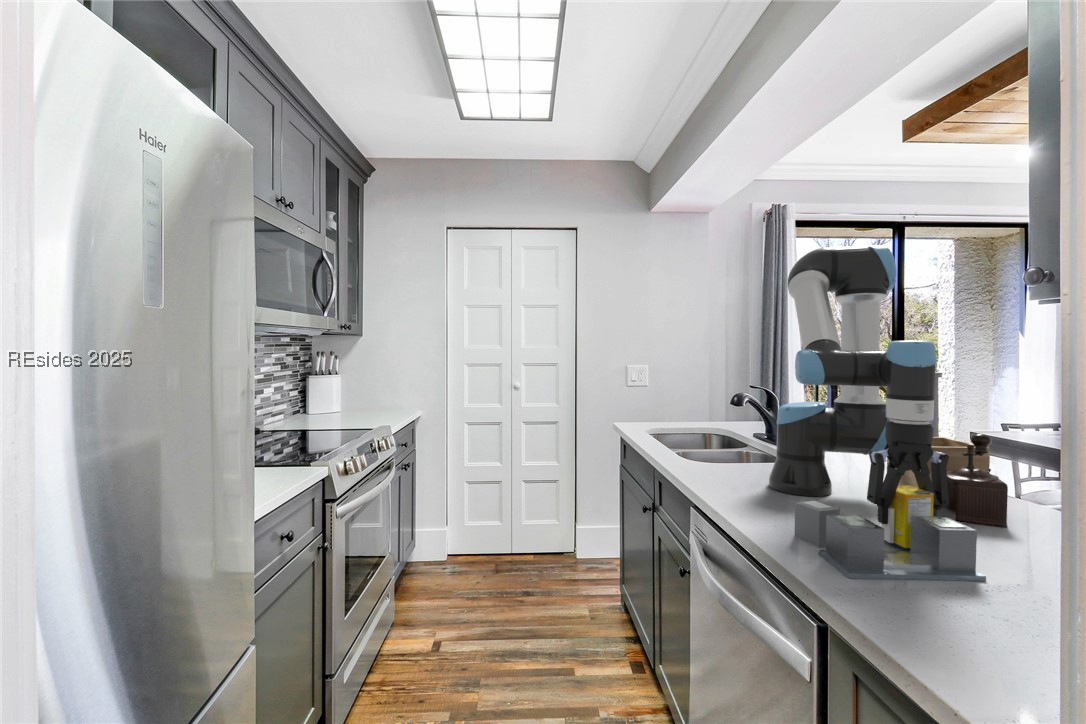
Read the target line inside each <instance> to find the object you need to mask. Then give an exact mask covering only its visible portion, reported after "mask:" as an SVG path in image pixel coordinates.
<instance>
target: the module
mask: <svg viewBox="0 0 1086 724" xmlns="http://www.w3.org/2000/svg"><path fill="white" fill-rule="evenodd" d="M794 503H795V504H794V538H797V539H798V540H801V541H803V542H806V543H808V544H810V545H812V546H814V547H817V548H826V515H841V509H840V507H839V508H838V507H835V506H833V505H829V504H827V503H824V502H821V501H818V500H815V499H812V500H805V501H804V500H803V501H795V502H794Z"/></svg>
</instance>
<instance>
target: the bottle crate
mask: <svg viewBox="0 0 1086 724" xmlns="http://www.w3.org/2000/svg"><path fill="white" fill-rule="evenodd" d="M969 444H972V445H974V444H973V443H972V442H966V441H963V440H958V439H953V438H948V437H945V436H933V443H931V447H932V449H933V451H934V452H941V453H944V454H947V455H948V456H949V459H948V463H947V466H946V469H947V471H954V470H956V469H959V468H962V467H967V466H968V456H963V455H962V453H965V452H967V450H968V448H967V446H968V445H969ZM974 450H975V446H974ZM987 450H988V452H989V454H984V455H982V456H979V455H976V456H973V463H974V467H977V468H979V469H982V470H984V471H988V470H989V469H990V462H991V461H990V459H991V458H990V457H991V448H990V447H988V448H987ZM889 461H890V460H889V459H888V458H887V457H886V467H887V466H888V463H889ZM927 465H928V468H929V471H930V474H929V476H930V479H931V482H932V475H931V460H929V461H928V462H927ZM895 469H897V468H895ZM898 486H912V487H916V488H918V489H919V487H918V484H917V481H916V478H915V475H914V473H913V472H912V470H908V471H905V474H904V475H903V476H901V479H900V481H899V484H898Z"/></svg>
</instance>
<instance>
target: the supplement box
mask: <svg viewBox="0 0 1086 724" xmlns="http://www.w3.org/2000/svg"><path fill="white" fill-rule="evenodd" d="M933 499H934V494H933V493H931V492H928V491H925V490H922V489H918V488H916V487H912V486H898V487H897V489H896V492H895V495H894V497H893V500H892V503H891V505H890V507H891V508H893V509H894V543H889V542H887V541H885V540H884V543H885V542H886V543H885V544H887V543H888V544H887V545H889V544H890V546H891V545H892V547H893V546H894V548H896V549H898V550H900V551H902V550H903V551H910V548H911V516H933Z"/></svg>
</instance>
